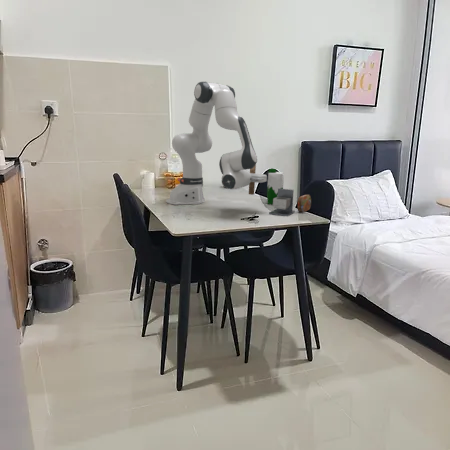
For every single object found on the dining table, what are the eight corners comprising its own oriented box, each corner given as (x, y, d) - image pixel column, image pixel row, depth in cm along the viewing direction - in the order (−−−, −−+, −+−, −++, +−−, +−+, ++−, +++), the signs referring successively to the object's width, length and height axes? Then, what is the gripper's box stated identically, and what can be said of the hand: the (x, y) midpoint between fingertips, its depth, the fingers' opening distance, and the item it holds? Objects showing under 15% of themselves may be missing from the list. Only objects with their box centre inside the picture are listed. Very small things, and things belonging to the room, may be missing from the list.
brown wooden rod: (250, 194, 218) (252, 161, 214) (247, 193, 221) (249, 160, 216) (255, 194, 220) (257, 161, 215) (252, 193, 222) (254, 160, 218)
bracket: (287, 216, 203) (289, 192, 200) (269, 214, 207) (270, 190, 205) (295, 212, 214) (296, 189, 211) (277, 210, 218) (278, 188, 215)
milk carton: (267, 201, 243) (269, 168, 238) (282, 202, 241) (284, 168, 236) (266, 204, 234) (267, 169, 230) (281, 205, 232) (283, 170, 228)
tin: (301, 213, 211) (302, 197, 209) (295, 212, 213) (296, 196, 211) (311, 209, 224) (312, 193, 222) (306, 208, 225) (307, 193, 223)
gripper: (261, 173, 201) (271, 171, 213) (225, 170, 210) (236, 167, 222) (260, 186, 203) (270, 183, 215) (224, 182, 212) (235, 179, 224)
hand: (253, 175), depth 218 cm, fingers closed on brown wooden rod, 3 cm apart
